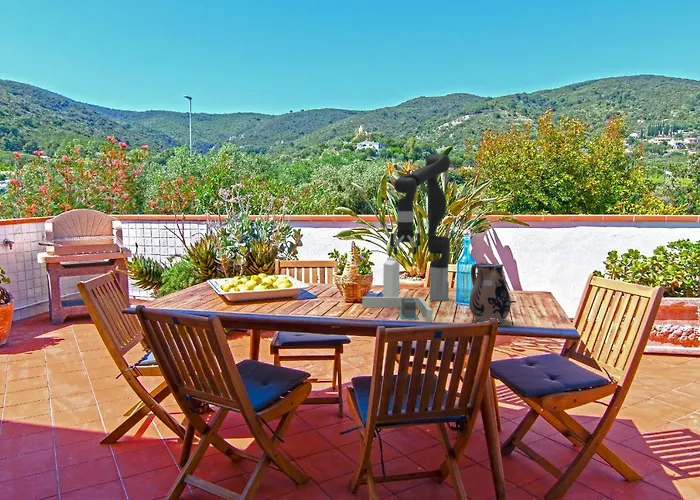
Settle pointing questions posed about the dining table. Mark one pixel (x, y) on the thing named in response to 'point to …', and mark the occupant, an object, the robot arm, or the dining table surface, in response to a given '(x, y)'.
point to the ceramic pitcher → (489, 293)
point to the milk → (391, 278)
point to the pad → (406, 318)
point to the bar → (408, 307)
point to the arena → (396, 304)
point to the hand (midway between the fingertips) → (405, 255)
